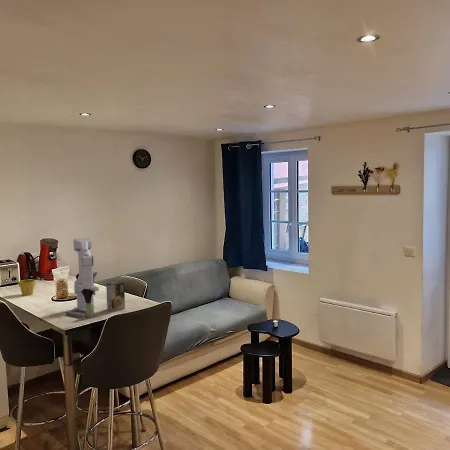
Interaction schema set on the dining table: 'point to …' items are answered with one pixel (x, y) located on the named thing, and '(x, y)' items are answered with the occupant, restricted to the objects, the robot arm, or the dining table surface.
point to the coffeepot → (93, 278)
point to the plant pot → (27, 287)
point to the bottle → (90, 310)
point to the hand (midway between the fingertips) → (88, 302)
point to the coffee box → (115, 295)
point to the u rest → (77, 313)
